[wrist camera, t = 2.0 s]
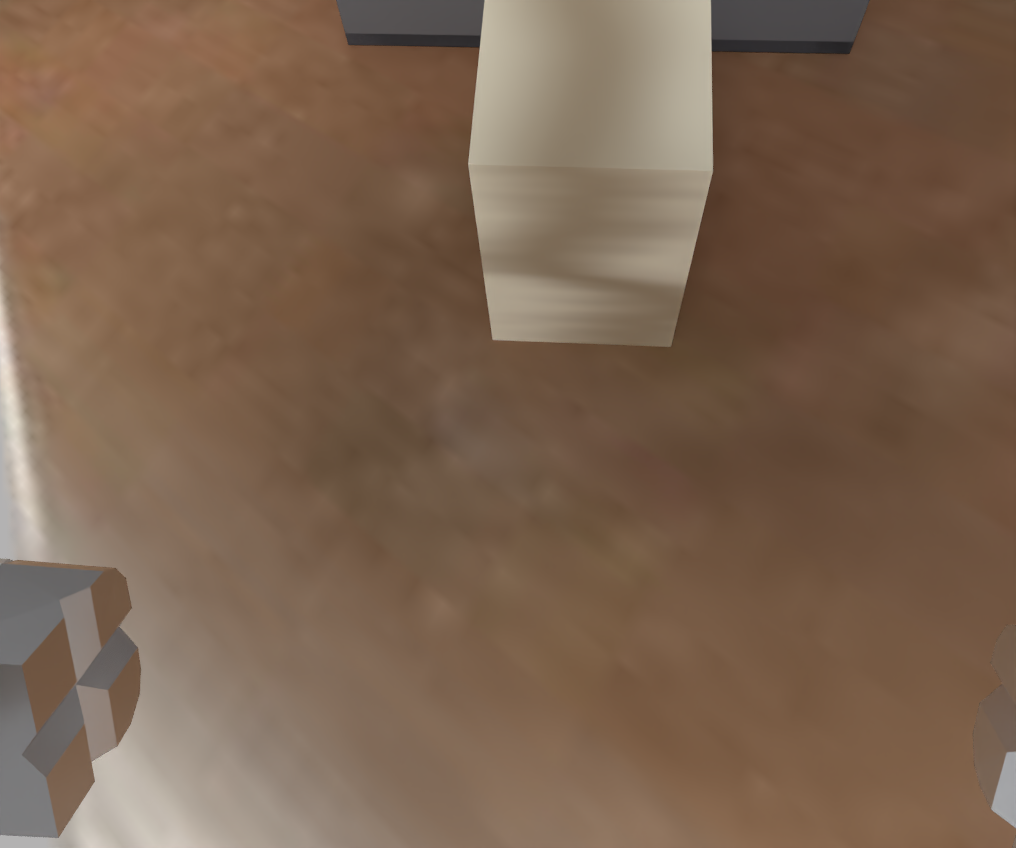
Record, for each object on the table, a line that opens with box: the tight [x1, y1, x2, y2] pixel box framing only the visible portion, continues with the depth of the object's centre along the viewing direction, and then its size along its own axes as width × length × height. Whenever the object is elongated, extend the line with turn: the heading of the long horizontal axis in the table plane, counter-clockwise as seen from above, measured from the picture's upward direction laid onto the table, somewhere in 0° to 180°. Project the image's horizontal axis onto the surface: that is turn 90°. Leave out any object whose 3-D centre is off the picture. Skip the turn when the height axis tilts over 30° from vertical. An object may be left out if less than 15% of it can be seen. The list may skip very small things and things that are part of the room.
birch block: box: [468, 0, 713, 347], centre depth 25 cm, size 5×5×8 cm
